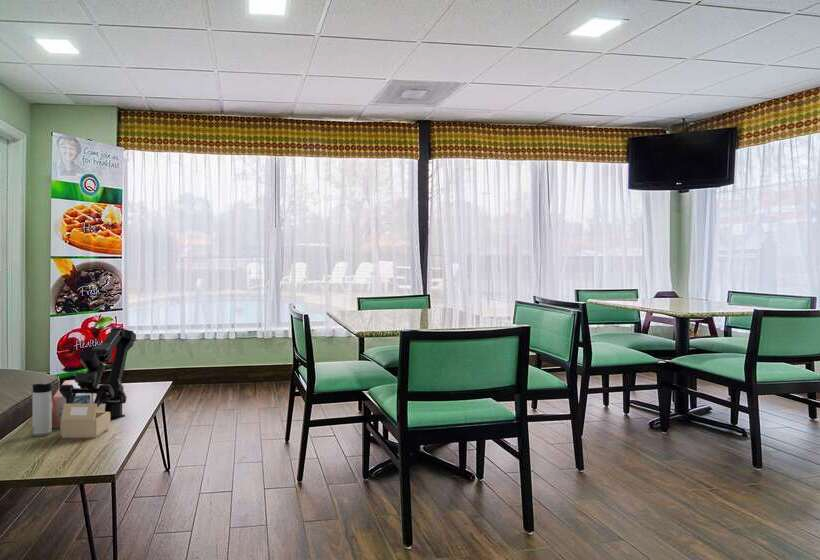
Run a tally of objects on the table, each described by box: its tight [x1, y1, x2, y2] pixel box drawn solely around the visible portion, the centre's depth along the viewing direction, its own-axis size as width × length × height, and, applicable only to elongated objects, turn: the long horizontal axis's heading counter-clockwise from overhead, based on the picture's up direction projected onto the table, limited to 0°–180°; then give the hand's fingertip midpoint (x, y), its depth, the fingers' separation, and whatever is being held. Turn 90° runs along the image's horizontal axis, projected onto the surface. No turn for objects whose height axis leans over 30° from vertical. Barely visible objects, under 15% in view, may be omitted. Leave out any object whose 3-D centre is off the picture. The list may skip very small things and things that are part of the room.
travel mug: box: [31, 383, 53, 438], centre depth 228 cm, size 6×7×20 cm
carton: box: [59, 411, 111, 439], centre depth 230 cm, size 13×13×7 cm
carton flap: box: [61, 404, 98, 420], centre depth 225 cm, size 6×12×1 cm
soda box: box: [52, 379, 97, 429], centre depth 258 cm, size 41×14×13 cm, turn 24°
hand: (79, 410), depth 225 cm, fingers open, 9 cm apart
